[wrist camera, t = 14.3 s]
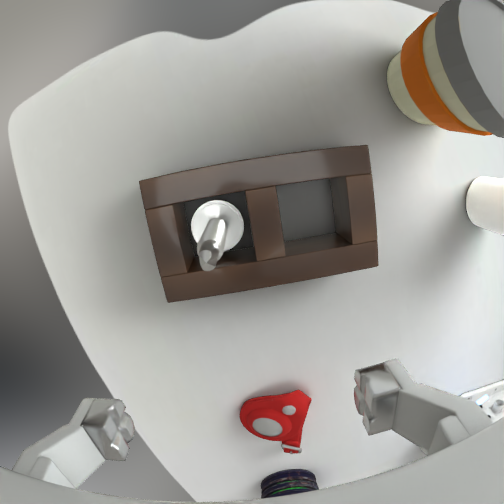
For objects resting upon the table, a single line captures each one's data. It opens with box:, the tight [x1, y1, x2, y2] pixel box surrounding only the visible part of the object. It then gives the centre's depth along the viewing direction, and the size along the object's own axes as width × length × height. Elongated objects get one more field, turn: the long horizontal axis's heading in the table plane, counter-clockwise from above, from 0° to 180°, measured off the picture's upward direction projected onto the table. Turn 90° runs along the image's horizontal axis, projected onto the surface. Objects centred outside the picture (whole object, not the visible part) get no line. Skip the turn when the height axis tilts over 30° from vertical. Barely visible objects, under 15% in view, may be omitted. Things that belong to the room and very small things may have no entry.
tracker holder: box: [240, 390, 311, 454], centre depth 36 cm, size 12×4×10 cm
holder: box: [139, 145, 378, 303], centre depth 28 cm, size 11×20×5 cm, turn 99°
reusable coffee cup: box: [387, 0, 504, 138], centre depth 20 cm, size 13×13×15 cm
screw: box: [191, 200, 244, 271], centre depth 24 cm, size 13×5×5 cm
